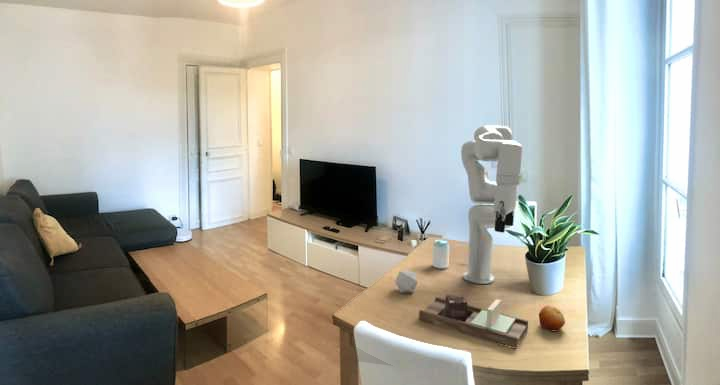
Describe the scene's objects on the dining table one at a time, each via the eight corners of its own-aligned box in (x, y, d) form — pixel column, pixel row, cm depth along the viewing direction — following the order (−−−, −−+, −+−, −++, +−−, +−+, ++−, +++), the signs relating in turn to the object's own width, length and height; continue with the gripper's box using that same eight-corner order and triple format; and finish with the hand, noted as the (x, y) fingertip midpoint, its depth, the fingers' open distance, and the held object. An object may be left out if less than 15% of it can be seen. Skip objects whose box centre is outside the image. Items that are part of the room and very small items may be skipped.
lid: (482, 312, 150) (483, 294, 149) (515, 320, 144) (516, 302, 143) (470, 325, 141) (471, 306, 140) (505, 335, 135) (506, 315, 134)
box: (461, 314, 153) (463, 294, 152) (466, 323, 147) (468, 302, 146) (444, 315, 153) (445, 295, 151) (448, 323, 147) (449, 302, 146)
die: (410, 299, 168) (423, 277, 169) (391, 286, 168) (404, 265, 170) (408, 297, 176) (420, 276, 177) (389, 286, 176) (402, 265, 178)
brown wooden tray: (436, 305, 161) (436, 296, 161) (527, 330, 144) (528, 320, 143) (418, 320, 150) (419, 310, 149) (515, 349, 132) (516, 338, 132)
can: (443, 270, 196) (444, 244, 193) (429, 266, 200) (430, 241, 198) (451, 266, 201) (452, 240, 199) (437, 262, 205) (438, 237, 203)
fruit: (535, 314, 152) (550, 298, 148) (555, 331, 149) (571, 315, 145) (529, 323, 145) (544, 307, 142) (550, 341, 142) (566, 325, 139)
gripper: (504, 175, 158) (501, 221, 162) (488, 181, 144) (484, 232, 148) (526, 177, 154) (522, 224, 158) (511, 184, 140) (507, 236, 144)
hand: (503, 228), depth 153 cm, fingers open, 9 cm apart
